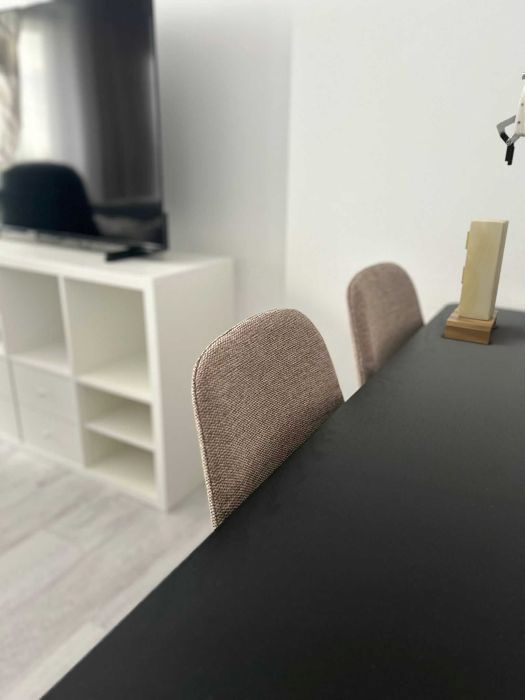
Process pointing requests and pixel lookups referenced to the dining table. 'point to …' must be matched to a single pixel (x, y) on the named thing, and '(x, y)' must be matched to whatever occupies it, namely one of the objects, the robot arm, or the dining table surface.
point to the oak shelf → (470, 328)
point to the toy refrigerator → (482, 268)
